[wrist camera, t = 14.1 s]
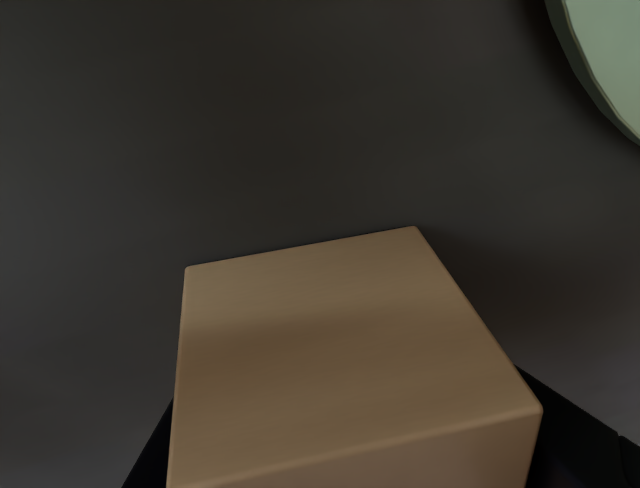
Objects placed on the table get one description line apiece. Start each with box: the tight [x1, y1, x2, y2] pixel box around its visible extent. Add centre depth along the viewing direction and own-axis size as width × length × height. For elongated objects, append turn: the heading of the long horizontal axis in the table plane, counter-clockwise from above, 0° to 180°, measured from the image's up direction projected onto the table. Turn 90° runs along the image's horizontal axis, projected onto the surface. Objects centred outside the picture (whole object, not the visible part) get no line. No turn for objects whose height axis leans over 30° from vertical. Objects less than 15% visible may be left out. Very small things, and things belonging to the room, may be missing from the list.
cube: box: [166, 226, 543, 488], centre depth 8 cm, size 4×4×4 cm
